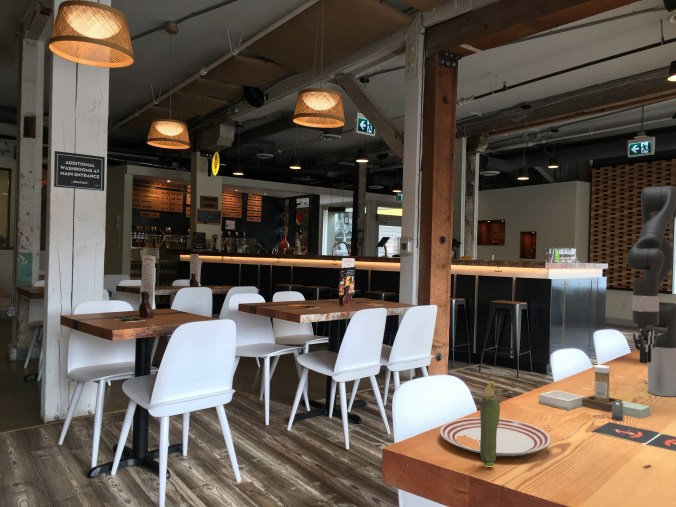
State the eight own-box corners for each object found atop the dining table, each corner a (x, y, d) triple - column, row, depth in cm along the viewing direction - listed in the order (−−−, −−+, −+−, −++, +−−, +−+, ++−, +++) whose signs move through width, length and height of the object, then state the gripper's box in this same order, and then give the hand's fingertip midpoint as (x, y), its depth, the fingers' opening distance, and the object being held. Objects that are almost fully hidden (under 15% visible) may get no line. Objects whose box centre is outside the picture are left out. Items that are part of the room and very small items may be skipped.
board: (623, 410, 172) (623, 400, 172) (650, 415, 166) (650, 406, 166) (614, 413, 168) (614, 404, 168) (641, 420, 161) (641, 410, 161)
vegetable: (477, 463, 124) (477, 377, 124) (495, 463, 125) (495, 377, 125) (484, 470, 120) (484, 382, 120) (502, 470, 120) (503, 382, 120)
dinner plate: (492, 472, 119) (492, 458, 119) (419, 436, 144) (419, 424, 144) (574, 453, 132) (574, 440, 132) (495, 423, 156) (495, 411, 156)
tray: (555, 398, 184) (555, 390, 184) (584, 405, 176) (584, 396, 176) (538, 403, 178) (538, 394, 178) (568, 410, 170) (568, 401, 170)
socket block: (595, 401, 181) (595, 394, 181) (622, 407, 173) (622, 400, 174) (581, 406, 175) (581, 398, 175) (609, 412, 168) (609, 404, 168)
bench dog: (614, 417, 163) (614, 400, 163) (624, 419, 160) (624, 402, 160) (610, 418, 161) (610, 402, 161) (620, 421, 159) (620, 404, 159)
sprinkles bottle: (612, 407, 174) (612, 366, 174) (604, 409, 171) (604, 367, 171) (599, 404, 177) (599, 364, 178) (591, 406, 175) (591, 365, 175)
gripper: (642, 307, 180) (642, 358, 180) (623, 309, 172) (623, 363, 172) (666, 309, 174) (666, 362, 174) (648, 311, 166) (648, 366, 166)
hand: (645, 362), depth 173 cm, fingers closed
